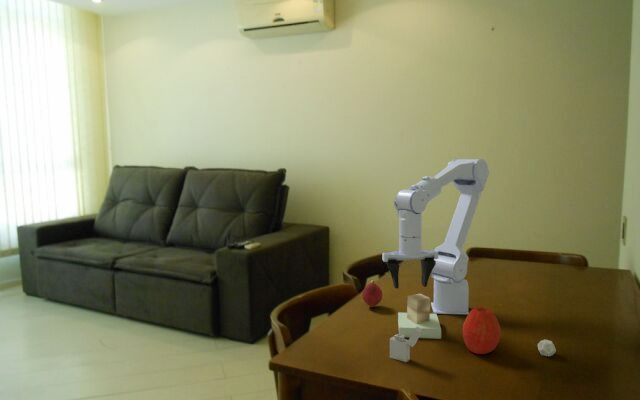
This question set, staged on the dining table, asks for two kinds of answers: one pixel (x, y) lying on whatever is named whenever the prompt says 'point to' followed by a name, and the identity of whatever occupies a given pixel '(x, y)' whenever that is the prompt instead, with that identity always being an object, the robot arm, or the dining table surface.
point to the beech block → (418, 308)
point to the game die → (546, 347)
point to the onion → (372, 294)
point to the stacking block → (429, 328)
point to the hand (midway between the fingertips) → (410, 286)
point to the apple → (481, 330)
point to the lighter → (403, 345)
